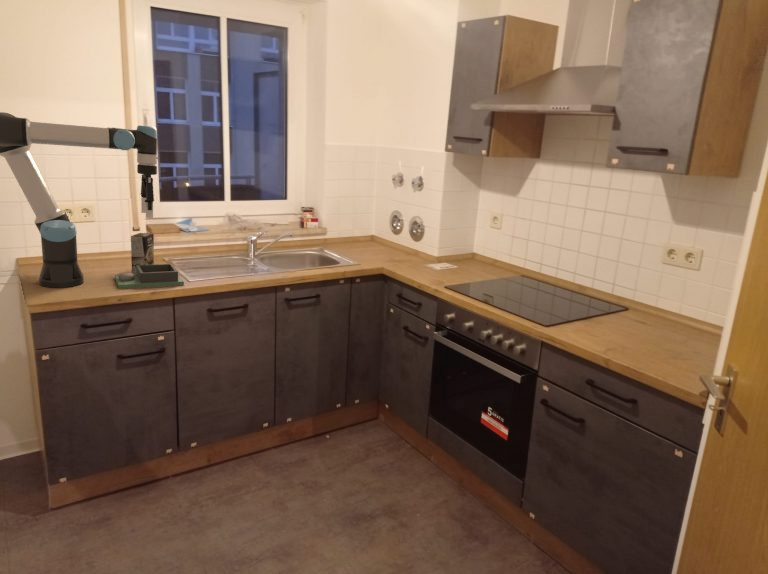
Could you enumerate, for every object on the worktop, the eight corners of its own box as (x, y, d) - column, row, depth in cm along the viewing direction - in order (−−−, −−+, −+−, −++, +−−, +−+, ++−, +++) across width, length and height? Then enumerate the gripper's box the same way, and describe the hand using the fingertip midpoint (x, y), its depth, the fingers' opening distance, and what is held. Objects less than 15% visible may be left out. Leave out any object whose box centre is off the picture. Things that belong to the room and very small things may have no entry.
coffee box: (146, 274, 243) (145, 237, 239) (131, 273, 243) (129, 235, 239) (155, 269, 252) (154, 233, 248) (140, 268, 252) (139, 232, 248)
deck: (119, 288, 220) (118, 274, 218) (115, 278, 233) (114, 265, 232) (183, 285, 232) (183, 272, 230) (176, 275, 245) (176, 263, 244)
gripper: (161, 167, 229) (161, 220, 234) (152, 162, 249) (152, 211, 255) (141, 166, 225) (141, 219, 230) (133, 161, 246) (133, 210, 251)
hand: (147, 215), depth 242 cm, fingers open, 13 cm apart
